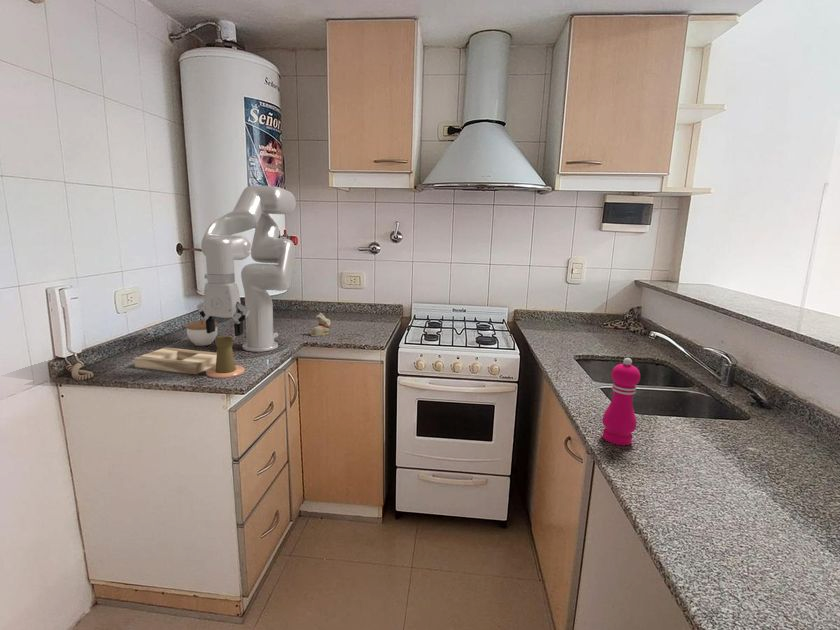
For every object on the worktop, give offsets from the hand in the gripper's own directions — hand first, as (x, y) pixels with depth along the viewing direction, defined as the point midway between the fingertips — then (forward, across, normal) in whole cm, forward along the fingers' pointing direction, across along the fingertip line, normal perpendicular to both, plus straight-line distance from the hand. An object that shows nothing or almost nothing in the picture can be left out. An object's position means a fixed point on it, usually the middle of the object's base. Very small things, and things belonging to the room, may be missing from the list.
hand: (224, 333), depth 135 cm
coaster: (+12, 0, -1) cm, 12 cm away
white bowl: (+14, -28, +25) cm, 40 cm away
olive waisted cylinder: (+12, 0, -1) cm, 12 cm away
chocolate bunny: (+14, +8, +52) cm, 54 cm away
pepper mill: (+11, +113, -15) cm, 114 cm away
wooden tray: (+12, -18, +1) cm, 22 cm away
